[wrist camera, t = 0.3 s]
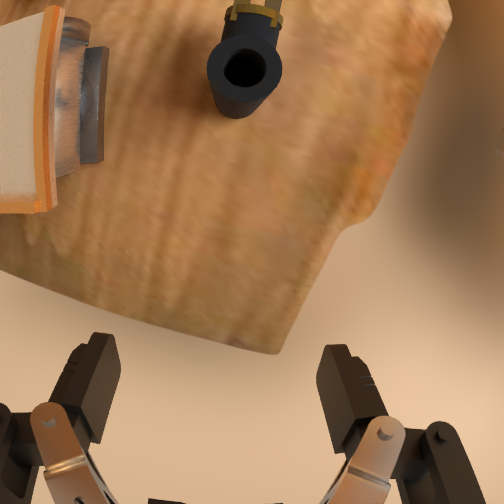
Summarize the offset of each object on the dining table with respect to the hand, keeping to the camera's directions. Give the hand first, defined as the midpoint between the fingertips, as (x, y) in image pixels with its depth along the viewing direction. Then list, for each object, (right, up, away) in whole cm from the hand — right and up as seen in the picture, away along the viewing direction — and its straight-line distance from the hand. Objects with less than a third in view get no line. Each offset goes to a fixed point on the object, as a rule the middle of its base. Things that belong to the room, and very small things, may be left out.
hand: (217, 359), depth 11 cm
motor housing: (-22, +22, +20) cm, 37 cm away
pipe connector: (0, +24, +20) cm, 32 cm away
